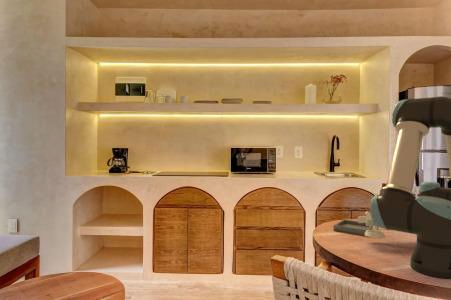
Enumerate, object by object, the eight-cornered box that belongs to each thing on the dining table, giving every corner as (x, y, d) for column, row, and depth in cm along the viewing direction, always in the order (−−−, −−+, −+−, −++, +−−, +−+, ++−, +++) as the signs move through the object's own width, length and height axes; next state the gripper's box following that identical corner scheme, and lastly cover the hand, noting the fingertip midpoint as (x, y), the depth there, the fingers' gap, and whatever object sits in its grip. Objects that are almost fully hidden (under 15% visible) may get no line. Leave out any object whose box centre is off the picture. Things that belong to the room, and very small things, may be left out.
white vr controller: (352, 218, 148) (366, 210, 148) (369, 243, 145) (384, 235, 144) (354, 218, 141) (369, 210, 140) (372, 245, 138) (387, 236, 137)
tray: (367, 235, 152) (367, 230, 152) (333, 230, 160) (333, 225, 160) (375, 228, 164) (375, 223, 164) (343, 224, 173) (343, 219, 173)
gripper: (426, 232, 138) (376, 235, 132) (395, 223, 155) (349, 225, 149) (426, 214, 138) (377, 216, 132) (395, 206, 155) (350, 208, 149)
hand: (362, 221), depth 141 cm, fingers closed on white vr controller, 4 cm apart
